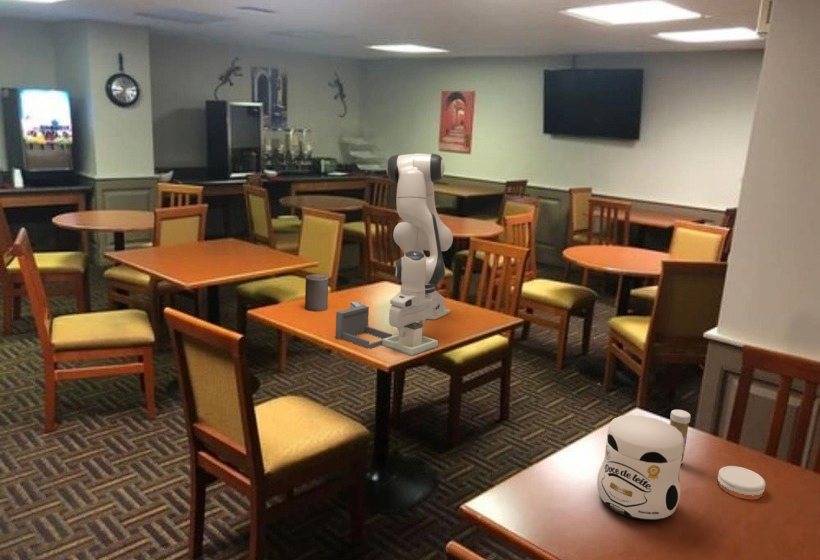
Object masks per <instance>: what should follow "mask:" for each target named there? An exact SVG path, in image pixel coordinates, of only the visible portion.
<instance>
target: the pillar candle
mask: <svg viewBox="0 0 820 560" xmlns="http://www.w3.org/2000/svg"><path fill="white" fill-rule="evenodd" d="M329 278H330V277H329V276H327V275H325V274H308V275H306V276H305V289H304V291H305V293H304V294H305V295H304V297H305V298H304V309H305V310H306V309H307V310H306V311H310V312H323V311H322V310H324V311H327V310H328V305H329V303H328V301H329ZM326 309H327V310H326Z"/></svg>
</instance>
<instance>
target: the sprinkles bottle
mask: <svg viewBox="0 0 820 560" xmlns="http://www.w3.org/2000/svg"><path fill="white" fill-rule="evenodd" d="M691 418H692V417H691V414H690V413H689V412H688V411H686V410H683V409H673V410H671V412H670V418H669V419H670V422H669V424H670V425H672V426H674V427H675V428H676V429H678V430H679V431H680V432H681V433H682V436H683V441H684V442H683V452H682V460H681V462H682V461H683V462H684V456H685V451H686V444H687V438H688V432H689V431H688V430H689V424H690V422H691Z"/></svg>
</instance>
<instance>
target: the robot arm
mask: <svg viewBox="0 0 820 560" xmlns="http://www.w3.org/2000/svg"><path fill="white" fill-rule="evenodd" d="M443 159H444V158H443V157H442V156H441V155H440V154H436V153H431V154H430V153H419V152H417V153H416V152H415V153H409V154H407V153H406V154H400V155H399V154H395V155H391V156H390V157H389V158H388V159H387V163H386V167H385V168H386V174H387V177H388V179H389V180H390V181H391V182H392V183H394V184H395V185H397V186H396V198H395V199H396V201H395V203H396V212H397V214H398V216H399V218H400V219H402V220H403V221H401V222H398V223H397V224H396V225H395V226H394V228H393V234H392V236H393V241H394V243H396V245H397V246H399V248H400V250H401V251H402V253H403V254H404V255H403V256H402V257H401V256H400V258H399V259H397V260H396V261H395V270H394V271H395V272H394V278H395V279H396V280H398V281H399V282H400V283H401V286H400V291H399V292H398V293H397V294H396V295H394V296H392V297H391V298H390V300H389V303H390V305H391V306H390V308H389V314H388V315H389V316H388V317H389V318H388V322H389V326H391V327H393V328H396V329H397V331H398V334H399V337H401V338H402V337H405V332H404V331H403V329H404V326H405V325H409V324H412V323H415V322H416V323H419V324H422V325H423V326H424V325H425V322H426V320H437V319H439V318H441V317H444V316H446V315H447V314H450V313H451V309H450V308H448V307H446V299H445V297H444V296H442V295H441V293H440V292H438V290H436V289H437V288H439V287H440V286H441V284H440V283H441V282H442V281H443V280H444V279H445V277H446V266H445V263H444V258H443V254H442V252H446V251H448V250H449V249H450V248H451V247H452V244H453V242H454V241H453V240H454V235H453V232H452V231H451V229H450V228H449V227H448V226H447V225H446V224H445V223H444V222H443V221H442V220H441V218H440V216H439V214H438V211H437V209H436V200H435V186H434V183H435V182H439V181H440V180H442V179H443V176H444V173H445V170H446V169H445V162H444V160H443ZM424 251H428V252H429V256H426V254H425V253H424Z"/></svg>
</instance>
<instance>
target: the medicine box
mask: <svg viewBox="0 0 820 560" xmlns="http://www.w3.org/2000/svg"><path fill="white" fill-rule="evenodd" d="M349 305H350V306H349V308H354V307H358V306H362V305H364V306H366V305H365V304H364V303H363V302H362V301H351V302H350V304H349Z"/></svg>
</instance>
